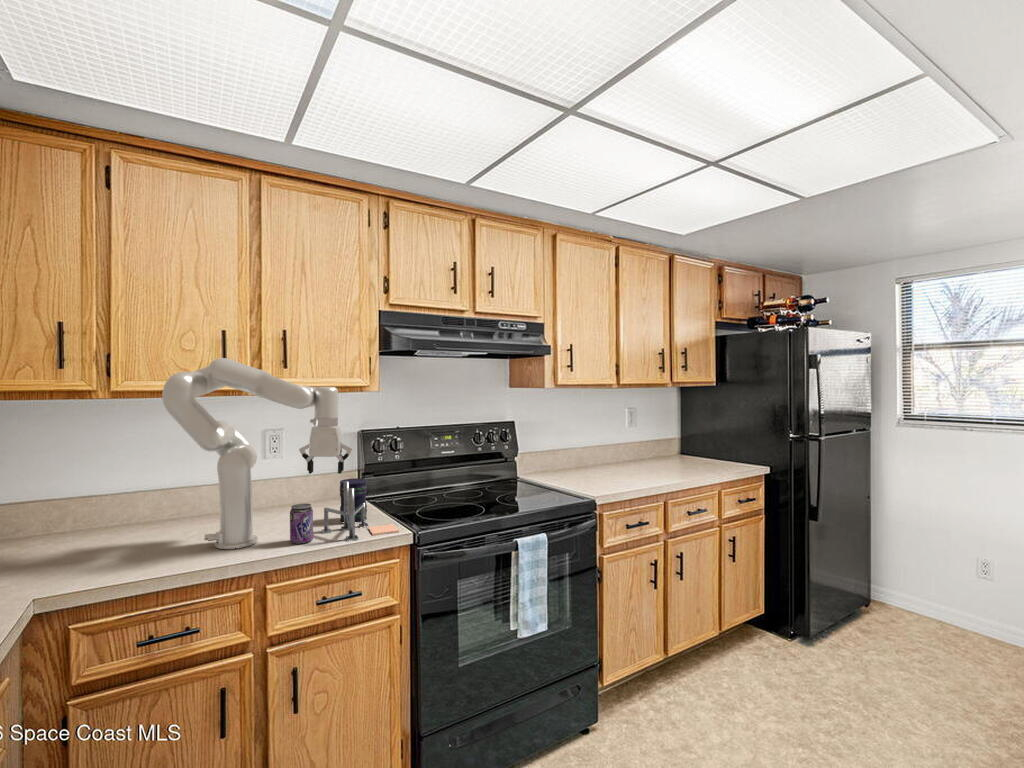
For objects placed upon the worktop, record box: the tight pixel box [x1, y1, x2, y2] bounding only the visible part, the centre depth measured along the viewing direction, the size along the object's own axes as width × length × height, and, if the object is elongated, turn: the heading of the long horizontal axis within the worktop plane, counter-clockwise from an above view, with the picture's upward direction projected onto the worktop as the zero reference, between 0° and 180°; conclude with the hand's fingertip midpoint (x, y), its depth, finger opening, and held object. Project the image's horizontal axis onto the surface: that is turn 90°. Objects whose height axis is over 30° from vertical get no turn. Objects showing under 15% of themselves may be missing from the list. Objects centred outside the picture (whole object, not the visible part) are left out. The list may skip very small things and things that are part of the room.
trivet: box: [367, 523, 400, 536], centre depth 189 cm, size 9×9×1 cm
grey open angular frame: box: [321, 481, 369, 542], centre depth 185 cm, size 16×17×17 cm
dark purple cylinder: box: [339, 477, 368, 523], centre depth 203 cm, size 10×10×15 cm
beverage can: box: [289, 502, 314, 545], centre depth 176 cm, size 7×7×12 cm
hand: (325, 472), depth 181 cm, fingers open, 9 cm apart
